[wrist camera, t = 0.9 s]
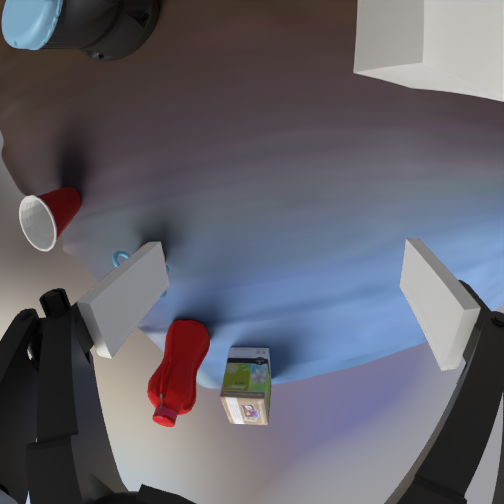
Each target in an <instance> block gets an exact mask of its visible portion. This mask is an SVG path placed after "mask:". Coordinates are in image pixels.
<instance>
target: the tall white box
mask: <svg viewBox="0 0 504 504" xmlns="http://www.w3.org/2000/svg"><path fill="white" fill-rule="evenodd" d="M353 73H356V74H361V75H365V76H370V77H374V78H378V79H382V80H385V81H389V82H393V83H396V84H400V85H403V86H406V87H410V88H417V89H429V90H438V91H447V92H454V93H461V94H467V95H473V96H479V97H484V98H489V99H494V100H499V101H503V102H504V0H358V8H357V30H356V46H355V59H354V71H353Z"/></svg>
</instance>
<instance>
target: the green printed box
mask: <svg viewBox="0 0 504 504" xmlns="http://www.w3.org/2000/svg"><path fill="white" fill-rule="evenodd" d="M270 395H271V369H270V355H269V348H251V347H230V349H229V353H228V359H227V364H226V369H225V374H224V379H223V384H222V388H221V394H220V398H221V401H222V404H223V406H224V408H225V411H226V413H227V416H228V418H229V421H230V423H237V424H256V425H268V420H269V408H270Z"/></svg>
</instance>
